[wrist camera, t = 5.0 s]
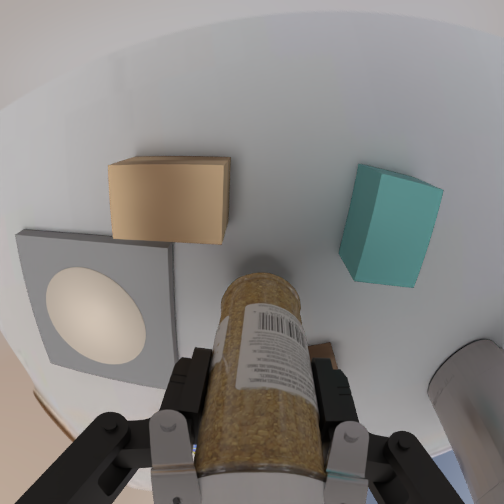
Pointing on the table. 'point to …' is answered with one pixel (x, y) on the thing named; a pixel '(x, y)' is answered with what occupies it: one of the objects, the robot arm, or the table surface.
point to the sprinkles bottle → (260, 402)
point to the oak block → (170, 198)
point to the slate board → (103, 303)
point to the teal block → (388, 227)
